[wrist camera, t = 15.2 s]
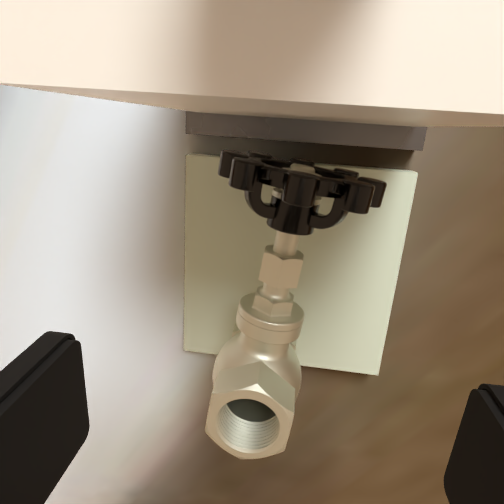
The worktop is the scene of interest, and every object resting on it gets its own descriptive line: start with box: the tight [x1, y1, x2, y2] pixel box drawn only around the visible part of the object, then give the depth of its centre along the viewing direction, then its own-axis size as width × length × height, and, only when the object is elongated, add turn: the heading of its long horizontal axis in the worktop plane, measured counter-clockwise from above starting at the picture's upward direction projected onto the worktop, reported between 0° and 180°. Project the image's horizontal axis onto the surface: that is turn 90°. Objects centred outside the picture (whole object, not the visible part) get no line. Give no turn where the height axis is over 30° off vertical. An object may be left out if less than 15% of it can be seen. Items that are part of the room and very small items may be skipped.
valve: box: [205, 150, 387, 459], centre depth 17 cm, size 7×7×12 cm
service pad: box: [183, 153, 418, 375], centre depth 21 cm, size 11×11×1 cm
